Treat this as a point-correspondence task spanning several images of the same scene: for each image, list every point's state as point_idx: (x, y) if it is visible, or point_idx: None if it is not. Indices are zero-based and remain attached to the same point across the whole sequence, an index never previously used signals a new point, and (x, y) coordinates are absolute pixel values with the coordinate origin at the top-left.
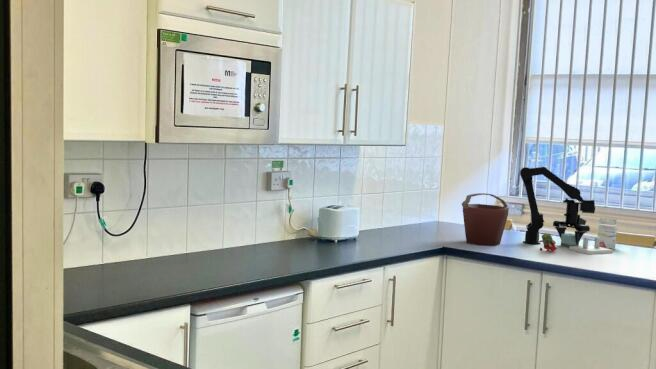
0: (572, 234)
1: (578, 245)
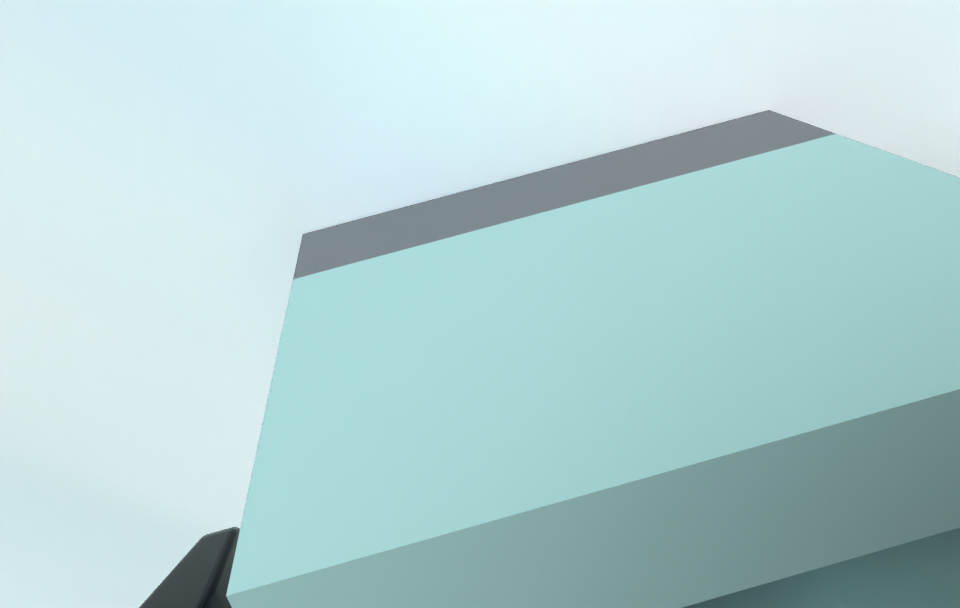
0: (690, 592)
1: (809, 139)
